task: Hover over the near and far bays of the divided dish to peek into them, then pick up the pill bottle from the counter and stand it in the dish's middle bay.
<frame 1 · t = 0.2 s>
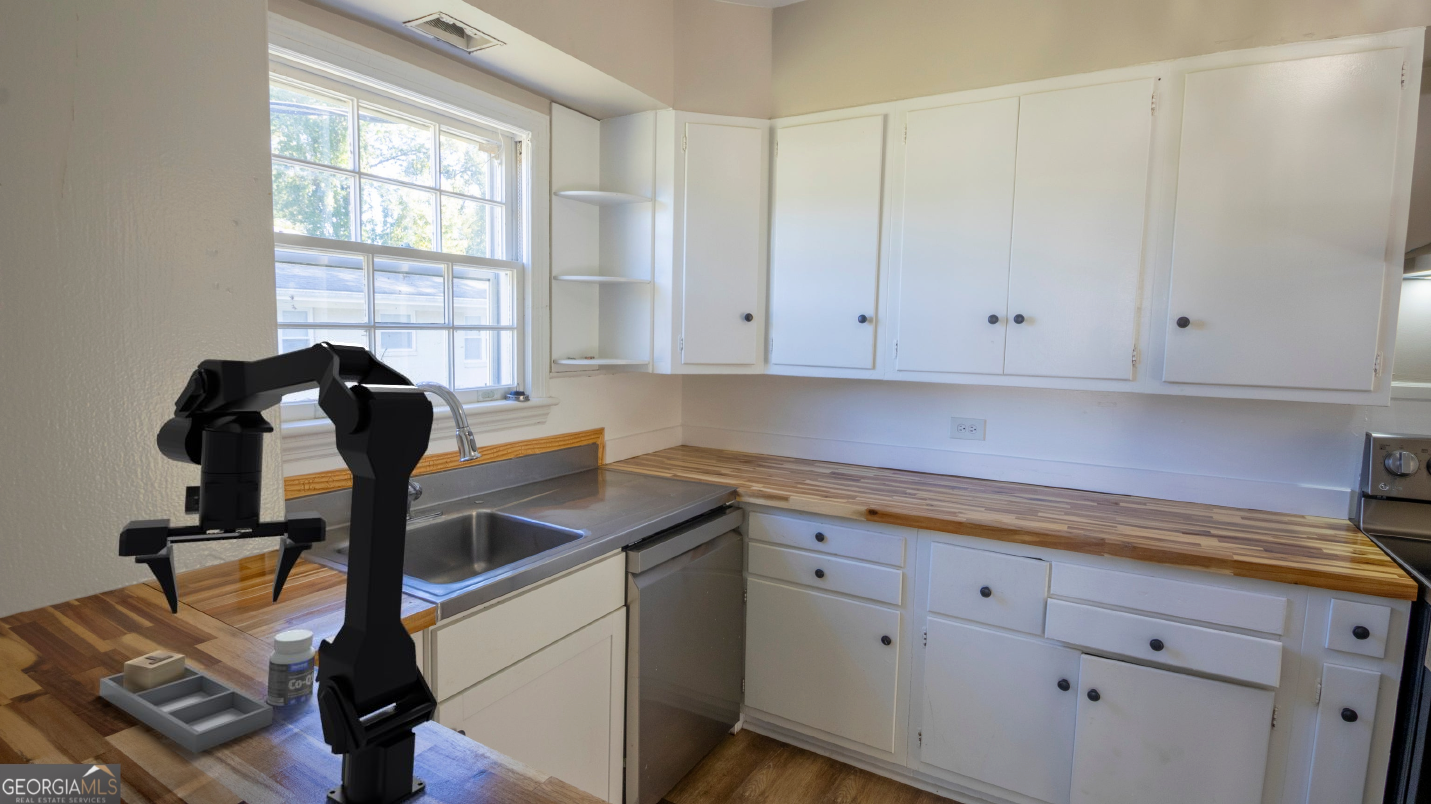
hand: (226, 606, 78), 13 cm above the table, fingers open, 9 cm apart
bay dish: (183, 716, 78), on the table
letter cube: (153, 692, 82), point 1 cm above the table, touching bay dish
pill bottle: (290, 705, 83), on the table
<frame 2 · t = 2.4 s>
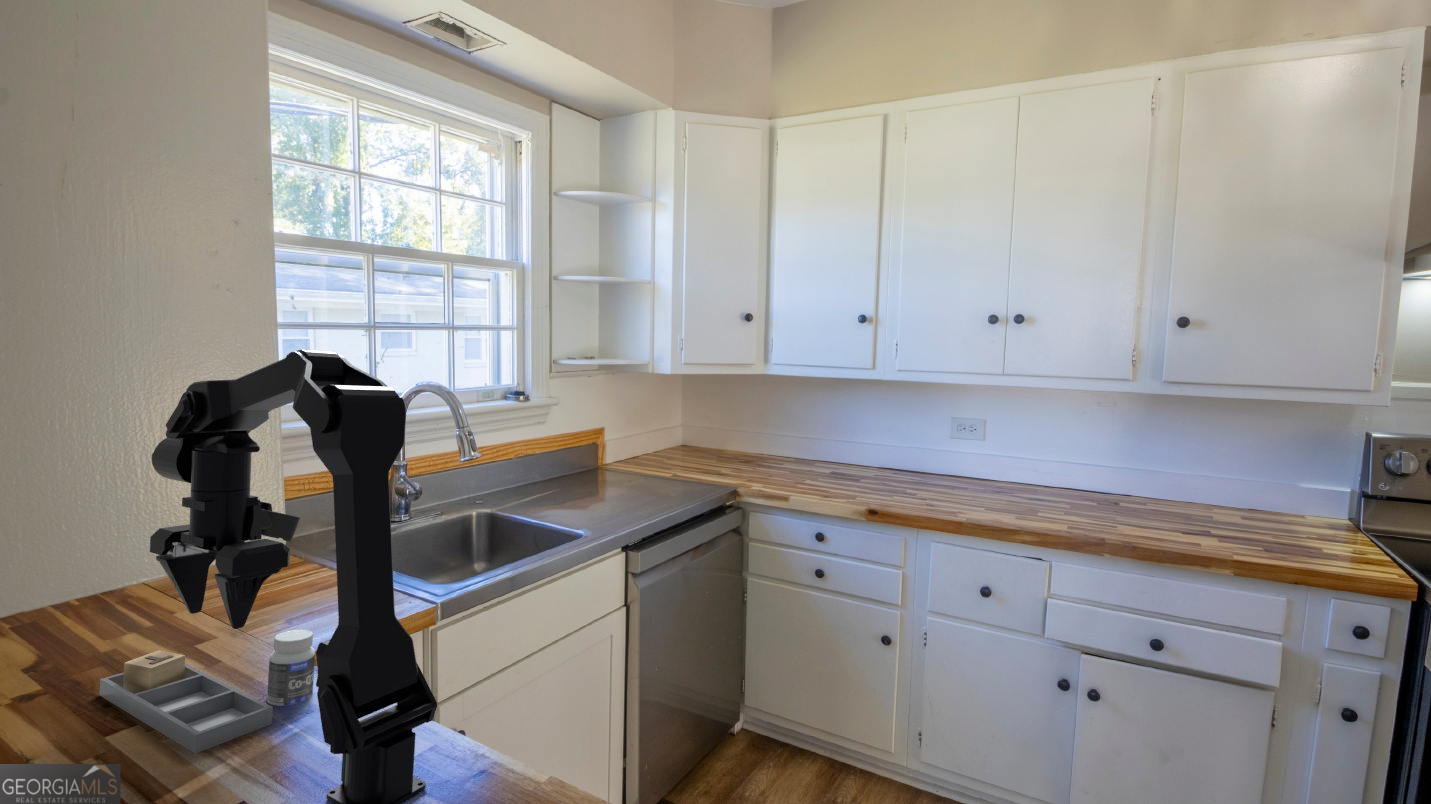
hand: (216, 620, 81), 10 cm above the table, fingers open, 9 cm apart
nothing on the table moved.
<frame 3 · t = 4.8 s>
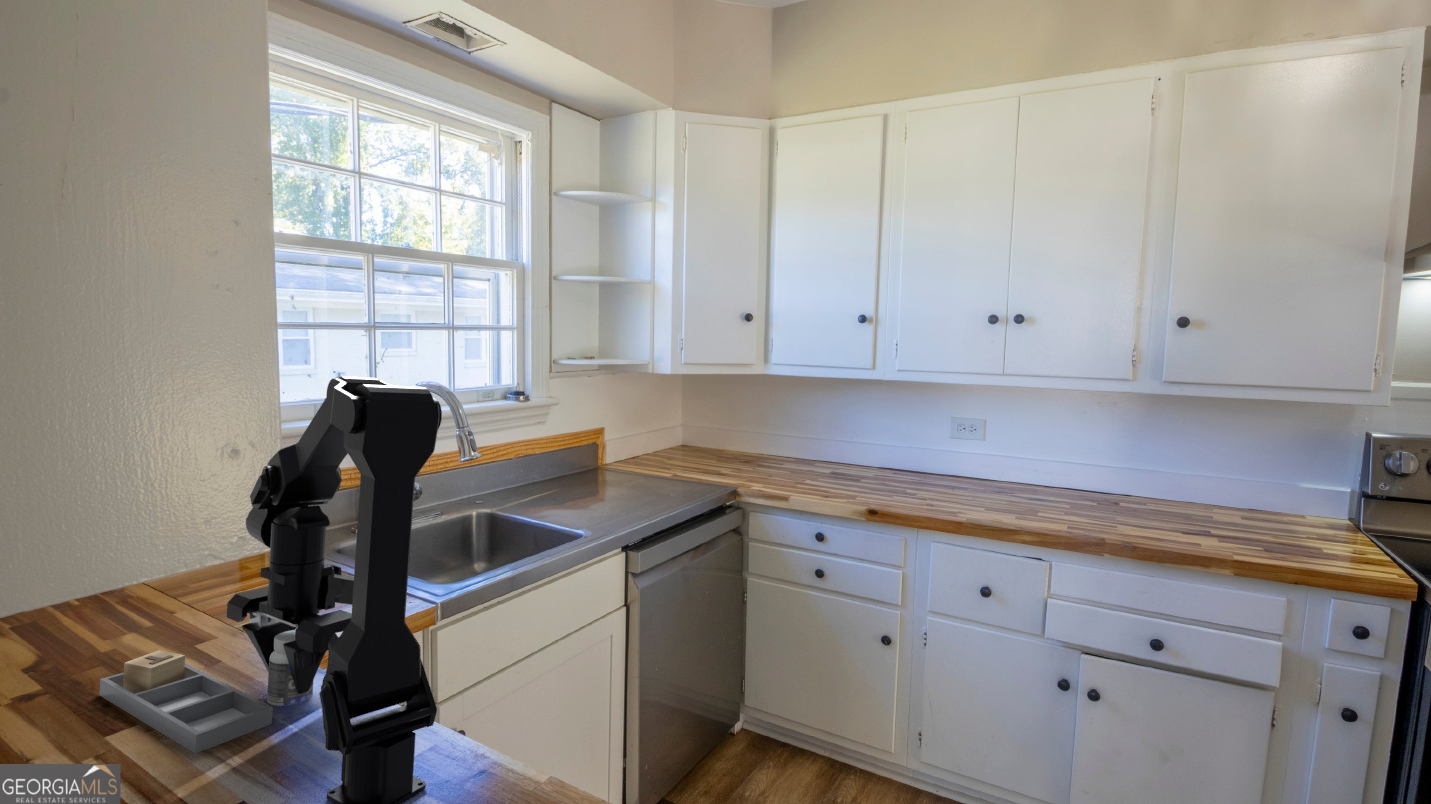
hand: (290, 687, 83), 2 cm above the table, fingers closed on pill bottle, 5 cm apart
pill bottle: (290, 705, 83), on the table, touching gripper
everything else where it was.
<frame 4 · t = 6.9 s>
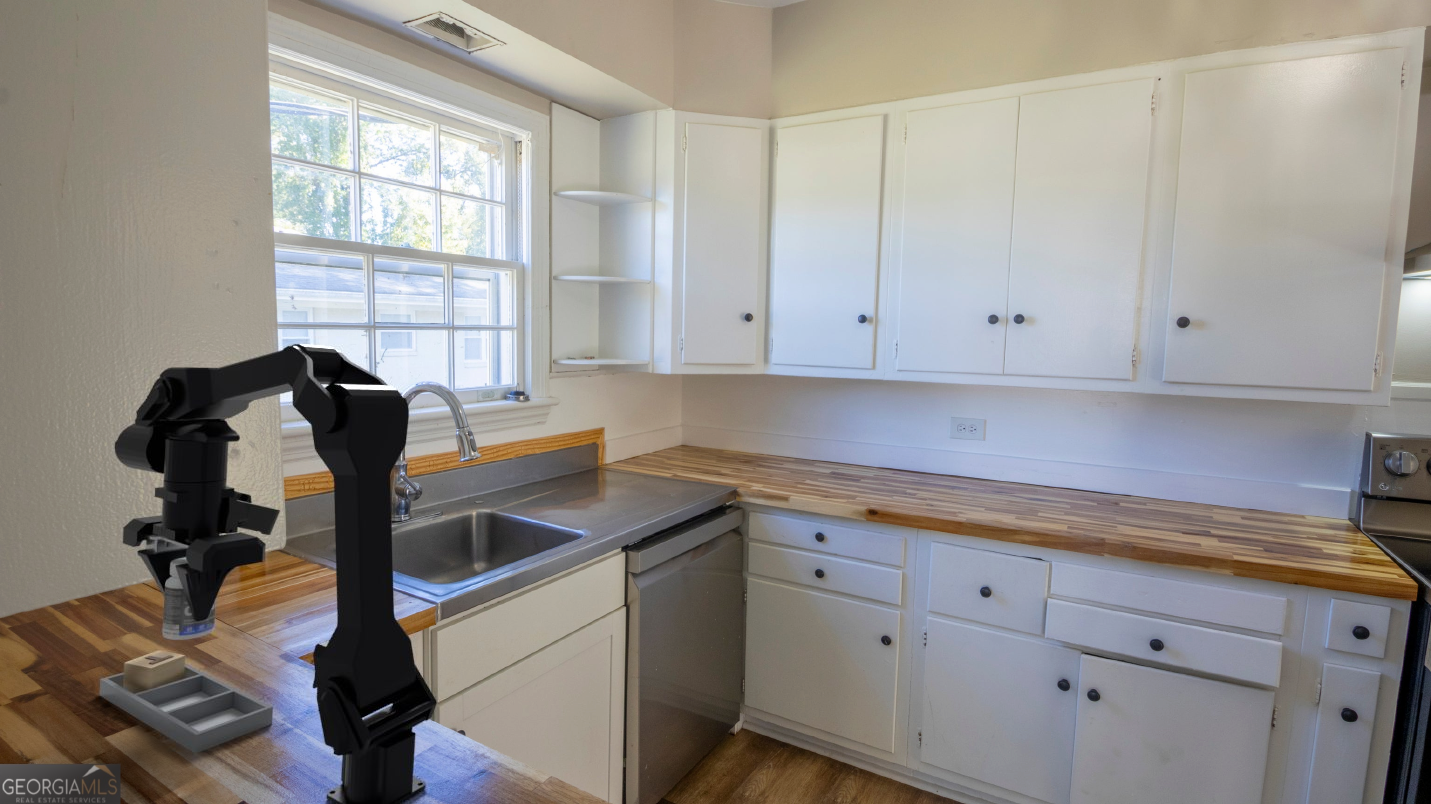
hand: (189, 615, 78), 12 cm above the table, fingers closed on pill bottle, 5 cm apart
pill bottle: (189, 634, 78), point 9 cm above the table, touching gripper
everything else where it was.
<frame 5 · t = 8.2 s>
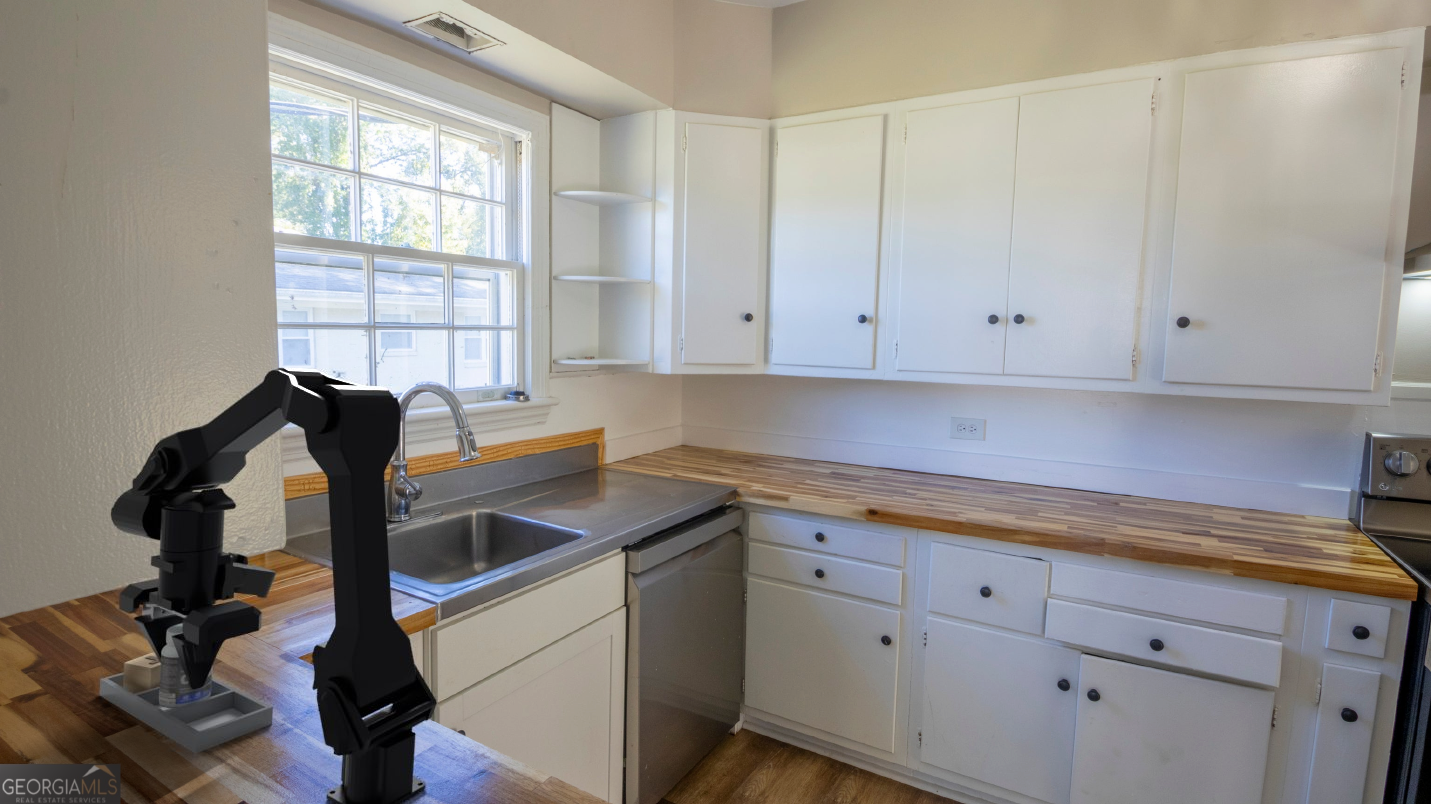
hand: (185, 682, 78), 4 cm above the table, fingers closed on pill bottle, 5 cm apart
pill bottle: (185, 701, 78), point 2 cm above the table, touching gripper
everything else where it was.
when the fingers open (4 cm above the table, at t = 9.0 s): pill bottle stays where it is, resting on bay dish.
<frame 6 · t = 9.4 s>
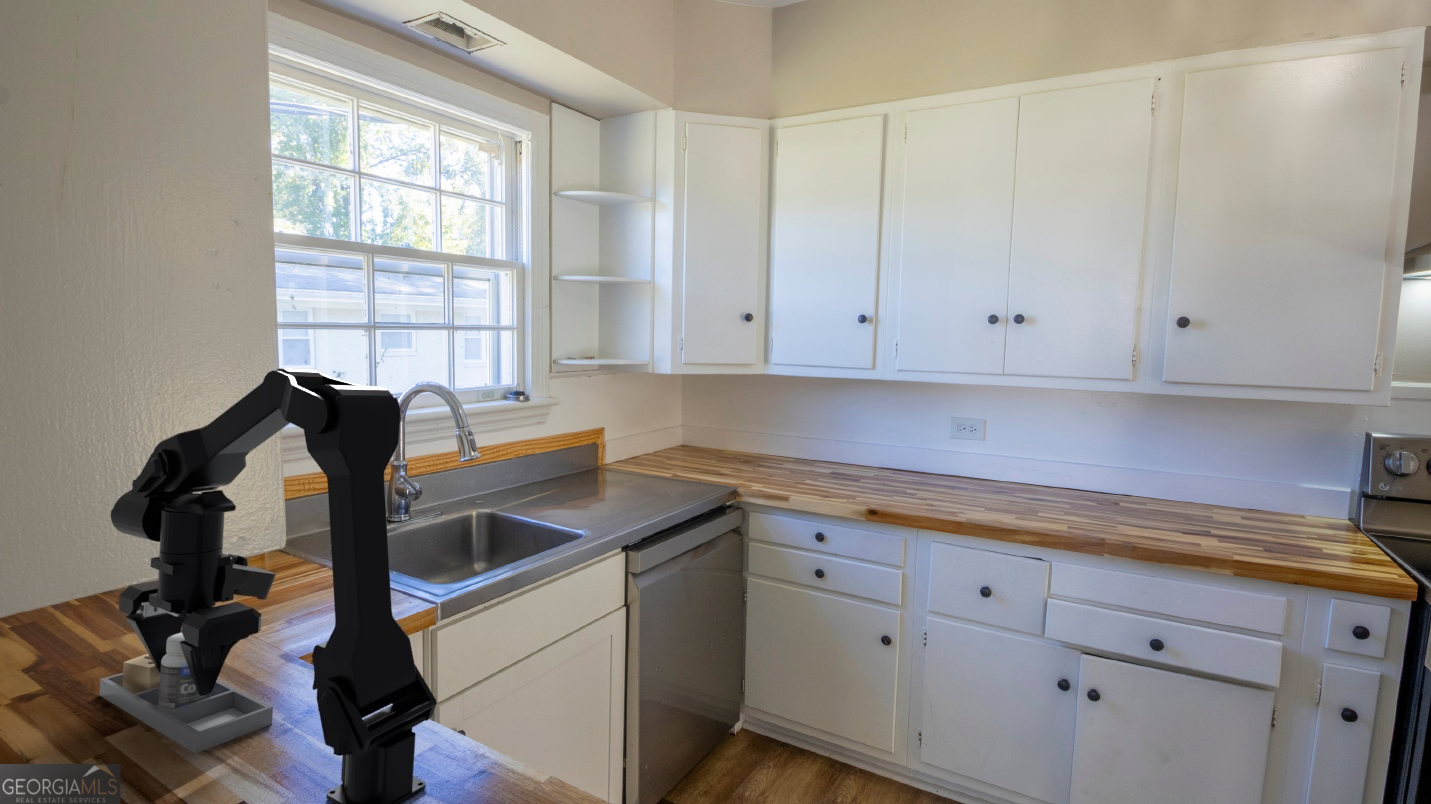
hand: (185, 684, 78), 4 cm above the table, fingers open, 8 cm apart
letter cube: (153, 691, 82), point 1 cm above the table, touching bay dish, gripper
pill bottle: (184, 710, 78), point 1 cm above the table, touching bay dish
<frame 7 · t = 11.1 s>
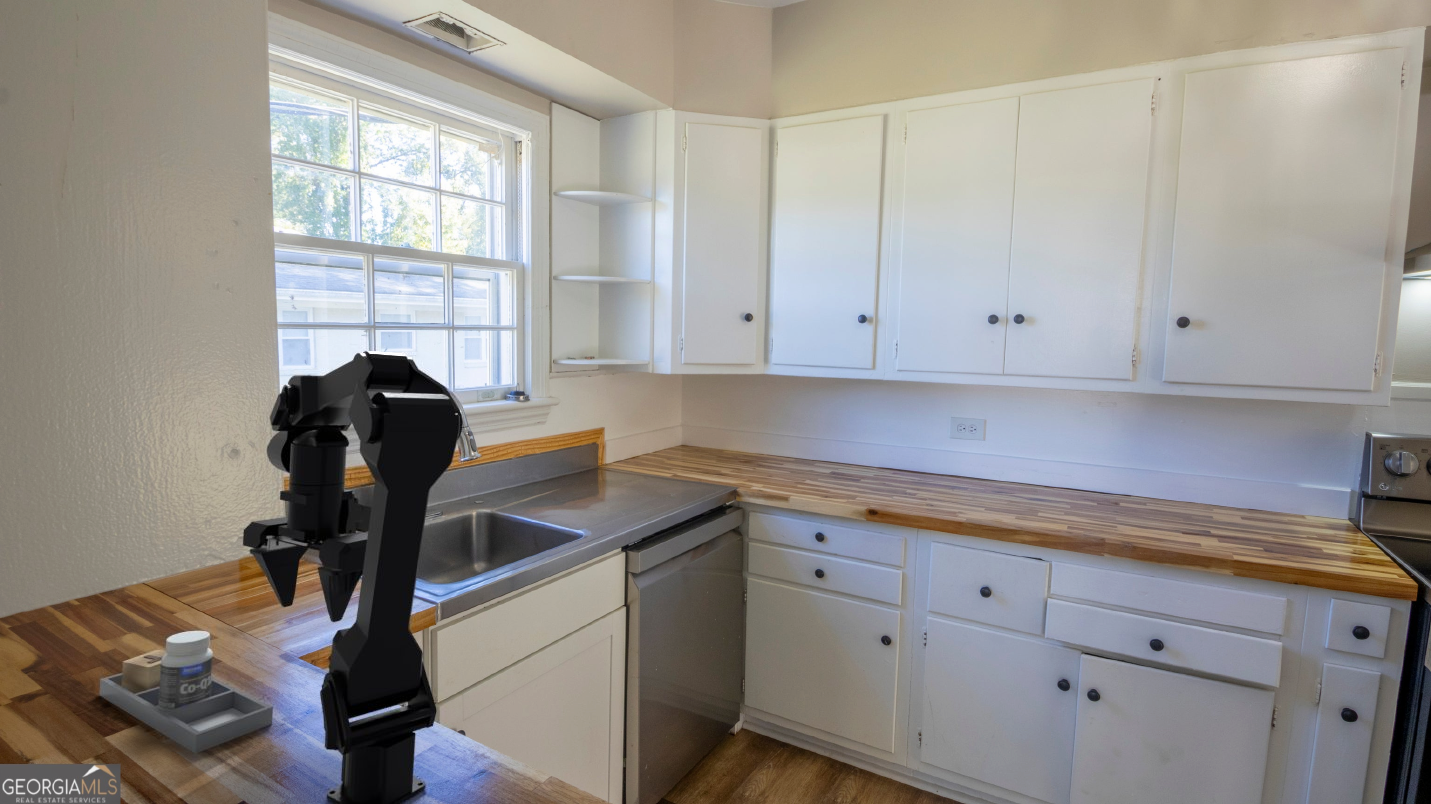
hand: (311, 613, 81), 12 cm above the table, fingers open, 9 cm apart
letter cube: (152, 691, 82), point 1 cm above the table, touching bay dish
everything else where it was.
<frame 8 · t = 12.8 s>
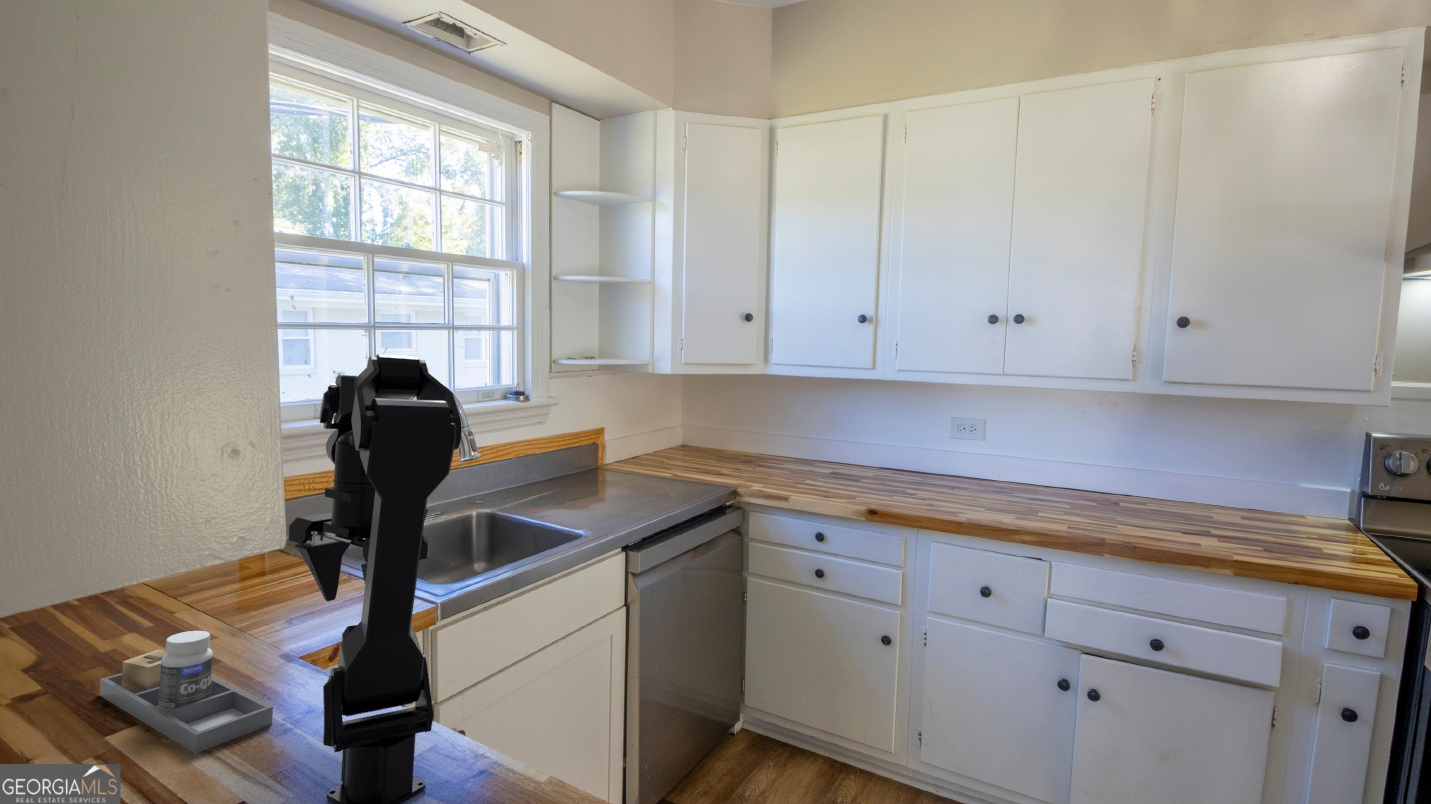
hand: (353, 608, 83), 12 cm above the table, fingers open, 9 cm apart
nothing on the table moved.
at the end: pill bottle 0.1 cm off-centre on the bay dish, point 0.7 cm above the bay dish's base; pill bottle tilted 0°; the gripper is holding nothing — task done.
